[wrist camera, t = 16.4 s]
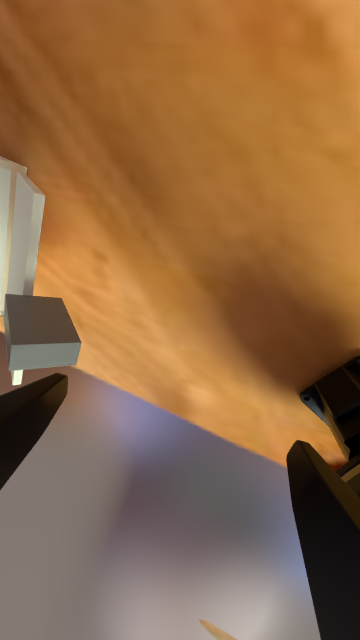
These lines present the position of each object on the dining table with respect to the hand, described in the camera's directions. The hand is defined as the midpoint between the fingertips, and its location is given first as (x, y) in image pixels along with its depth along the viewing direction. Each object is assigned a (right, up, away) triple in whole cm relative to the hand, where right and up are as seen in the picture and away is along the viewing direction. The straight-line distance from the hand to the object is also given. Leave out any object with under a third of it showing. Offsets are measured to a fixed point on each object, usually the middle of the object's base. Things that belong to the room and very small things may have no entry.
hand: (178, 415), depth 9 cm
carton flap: (-15, +10, +13) cm, 22 cm away
